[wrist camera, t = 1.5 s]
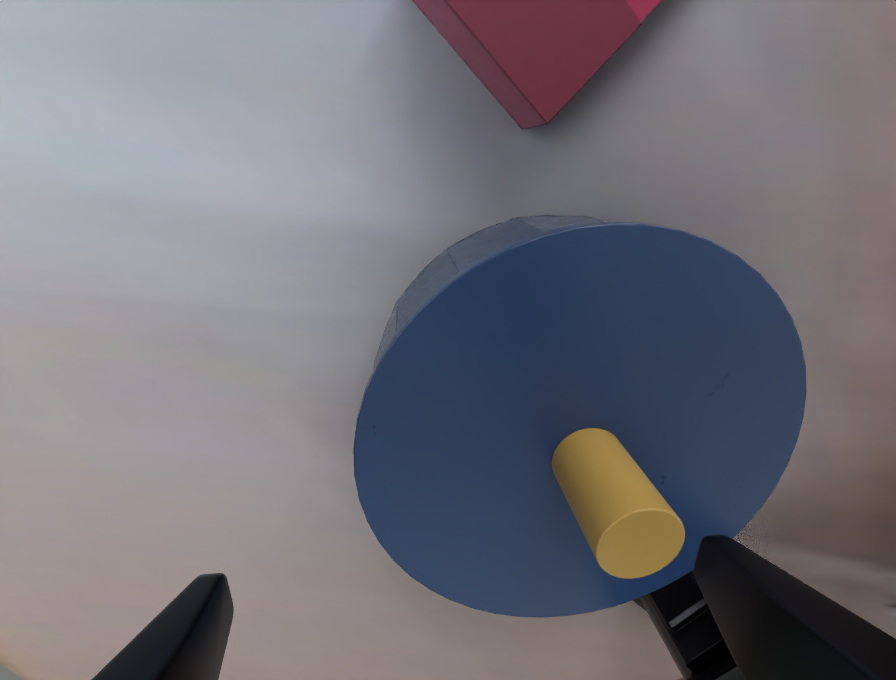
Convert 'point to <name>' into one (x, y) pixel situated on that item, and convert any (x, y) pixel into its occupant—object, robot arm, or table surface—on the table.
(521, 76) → the wallet
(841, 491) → the table surface
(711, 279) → the tin lid
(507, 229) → the tin
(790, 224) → the table surface
